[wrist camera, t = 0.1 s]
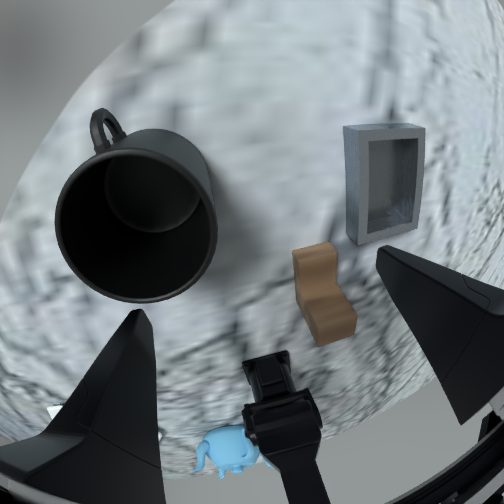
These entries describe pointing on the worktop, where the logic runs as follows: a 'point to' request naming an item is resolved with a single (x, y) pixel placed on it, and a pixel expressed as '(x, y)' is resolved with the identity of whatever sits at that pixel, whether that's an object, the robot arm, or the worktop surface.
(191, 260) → the mug
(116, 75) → the worktop surface
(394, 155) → the grey rectangular tray
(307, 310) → the tan toy chair
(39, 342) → the worktop surface
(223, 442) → the teapot
